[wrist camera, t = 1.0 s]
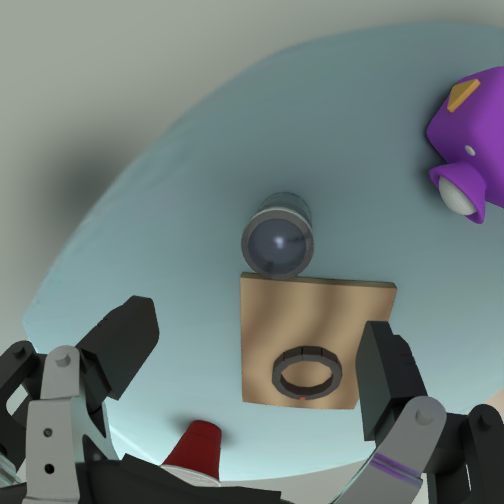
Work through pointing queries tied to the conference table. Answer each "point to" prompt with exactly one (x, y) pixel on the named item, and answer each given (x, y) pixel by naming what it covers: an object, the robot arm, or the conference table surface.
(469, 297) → the conference table surface
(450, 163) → the toy camera
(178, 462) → the plastic cup
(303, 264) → the lens
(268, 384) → the mount
